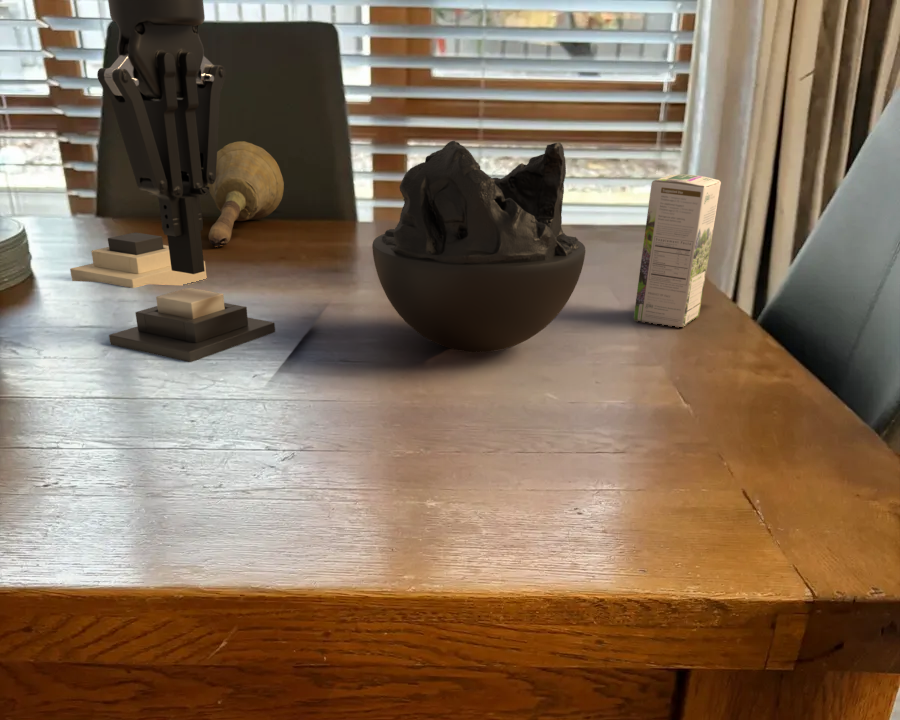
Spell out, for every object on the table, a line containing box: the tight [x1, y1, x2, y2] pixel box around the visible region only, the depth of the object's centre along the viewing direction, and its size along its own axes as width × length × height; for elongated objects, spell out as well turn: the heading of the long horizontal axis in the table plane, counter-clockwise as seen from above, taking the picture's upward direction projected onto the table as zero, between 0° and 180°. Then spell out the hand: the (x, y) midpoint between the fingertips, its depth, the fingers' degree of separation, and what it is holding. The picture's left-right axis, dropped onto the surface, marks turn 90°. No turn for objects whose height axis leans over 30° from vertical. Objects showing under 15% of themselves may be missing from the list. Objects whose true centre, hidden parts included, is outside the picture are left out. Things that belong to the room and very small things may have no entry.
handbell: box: [207, 140, 285, 247], centre depth 143 cm, size 12×12×25 cm
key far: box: [107, 232, 164, 255], centre depth 115 cm, size 4×4×2 cm
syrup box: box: [633, 173, 722, 328], centre depth 104 cm, size 6×6×14 cm
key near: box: [155, 287, 225, 319], centre depth 92 cm, size 4×4×2 cm
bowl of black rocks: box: [371, 140, 586, 353], centre depth 92 cm, size 20×20×19 cm
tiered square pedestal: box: [108, 302, 276, 363], centre depth 93 cm, size 12×10×4 cm
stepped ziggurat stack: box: [69, 244, 208, 289], centre depth 117 cm, size 12×10×4 cm
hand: (188, 270), depth 91 cm, fingers closed
